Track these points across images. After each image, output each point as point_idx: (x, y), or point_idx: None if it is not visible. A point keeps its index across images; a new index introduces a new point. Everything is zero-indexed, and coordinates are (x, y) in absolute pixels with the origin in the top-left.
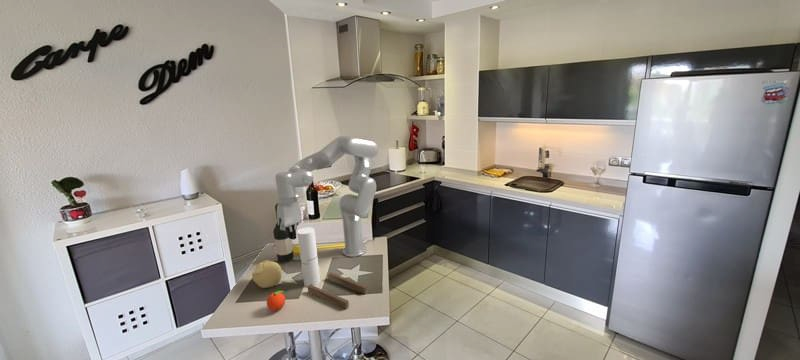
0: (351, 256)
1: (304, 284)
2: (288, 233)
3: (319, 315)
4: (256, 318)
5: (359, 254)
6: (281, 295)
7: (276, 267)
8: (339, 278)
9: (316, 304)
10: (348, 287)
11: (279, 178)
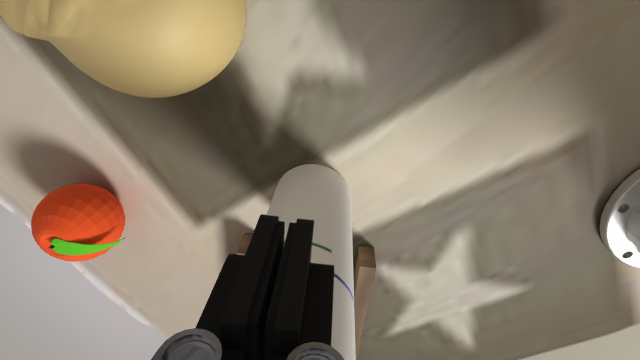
0: (600, 230)
1: (277, 184)
2: (206, 310)
3: (183, 327)
4: (20, 176)
5: (622, 260)
6: (84, 259)
7: (159, 84)
8: None
9: None
10: None
11: None
